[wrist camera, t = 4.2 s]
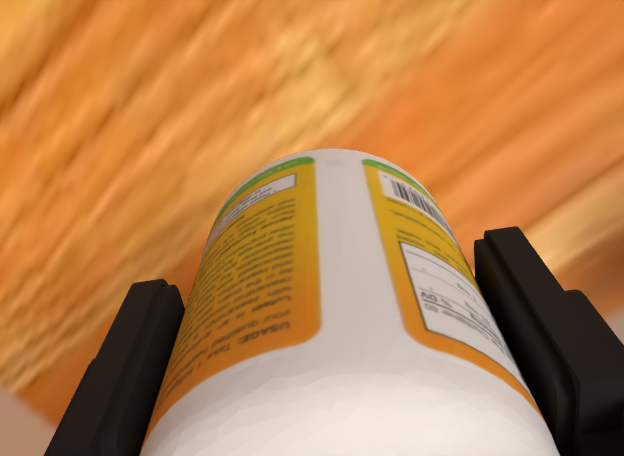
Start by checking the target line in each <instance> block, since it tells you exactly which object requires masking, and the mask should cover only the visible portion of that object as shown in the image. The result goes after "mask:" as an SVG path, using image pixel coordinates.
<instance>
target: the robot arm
mask: <svg viewBox="0 0 624 456" xmlns="http://www.w3.org/2000/svg"><path fill="white" fill-rule="evenodd" d="M474 259H475V279H476V281H477V283H478V285H479V288H480V290H481V292H482V294H483V296H484V298H485V300H486V302H487V304H488V306H489V308H490V310H491V313H492V314H493V316H494V318H495V320H496V323H497V325H498V327H499V329H500V331H501V333H502V335H503V337H504V339H505V341H506V343H507V345H508V347H509V349H510V351H511V353H512V355H513V357H514V359H515V361H516V364H517V366H518V368H519V370H520V372H521V374H522V376H523V378H524V380H525V382H526V384H527V386H528V388H529V390H530V392H531V394H532V396H533V398H534V400H535V402H536V404H537V406H538V408H539V410H540V412H541V414H542V416H543V418H544V420H545V422H546V424H547V426H548V429H549V431H550V433H551V435H552V438H553V440H554V443H555V445H556V448H557V450H558V452H559V455H560V456H624V345H623V344H622V343H621V341H620V340H619V339H618V338H617V336H616V335H615V334H614V332H613V331H612V330H611V328H610V327H609V326H608V324H607V323H606V322H605V321H604V319H603V318H602V317H601V315H600V314H599V313H598V311H597V310H596V309H595V308H594V306H593V305H592V304H591V302H590V301H589V300H588V298H587V297H586V296H585V295H584V294H583V293H582V292H581V291H579V290H569V291H564V290H563V288H562V287H561V286H560V284H559V283H558V281H557V280H556V279H555V277H554V276H553V274H552V273H551V272H550V270H549V269H548V268H547V266H546V265H545V263H544V262H543V261H542V259H541V258H540V256H539V255H538V254H537V252H536V251H535V250H534V248H533V247H532V245H531V244H530V243H529V241H528V240H527V238H526V237H525V236H524V234H523V233H522V231H521V230H520V229H519V228H518V227H517V226H514V227H508V228H501V229H494V230H487V231H485V233H484V239H480V240H475V242H474ZM184 313H185V308H184V305H183V302H182V299H181V296H180V293H179V290H178V288H177V286H176V285H169V286H168V283H167V282H166V281H165V280H164V279H158V280H151V281H145V282H138V283H133V284H132V286H131V287H130V289H129V291H128V293H127V295H126V297H125V299H124V301H123V304H122V306H121V308H120V310H119V312H118V314H117V316H116V318H115V320H114V322H113V324H112V326H111V328H110V330H109V332H108V334H107V336H106V338H105V340H104V342H103V344H102V346H101V348H100V350H99V352H98V354H97V356H96V358H95V359H93V360H92V362H91V363H90V364H89V366H88V368H87V370H86V372H85V374H84V376H83V378H82V380H81V382H80V384H79V386H78V388H77V390H76V392H75V394H74V396H73V398H72V400H71V402H70V404H69V406H68V408H67V410H66V412H65V414H64V416H63V418H62V420H61V422H60V424H59V426H58V428H57V430H56V432H55V434H54V436H53V438H52V440H51V442H50V444H49V446H48V448H47V450H46V452H45V454H44V456H139V455H140V452H141V448H142V445H143V442H144V439H145V435H146V432H147V429H148V426H149V422H150V419H151V416H152V413H153V410H154V407H155V404H156V400H157V397H158V394H159V391H160V388H161V384H162V381H163V378H164V375H165V372H166V369H167V366H168V363H169V360H170V357H171V354H172V351H173V348H174V344H175V341H176V338H177V335H178V332H179V329H180V326H181V323H182V320H183V316H184Z"/></svg>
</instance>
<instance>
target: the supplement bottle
mask: <svg viewBox="0 0 624 456" xmlns="http://www.w3.org/2000/svg"><path fill="white" fill-rule="evenodd" d="M139 456H560V455H559V452H558V450H557V448H556V445H555V443H554V440H553V438H552V435H551V433H550V431H549V429H548V426H547V424H546V422H545V420H544V418H543V416H542V414H541V412H540V410H539V408H538V406H537V404H536V402H535V400H534V398H533V396H532V394H531V392H530V390H529V388H528V386H527V384H526V382H525V380H524V378H523V376H522V374H521V372H520V370H519V368H518V366H517V364H516V361H515V359H514V357H513V355H512V353H511V351H510V349H509V347H508V345H507V343H506V341H505V339H504V337H503V335H502V333H501V331H500V329H499V327H498V325H497V323H496V320H495V318H494V316H493V314H492V313H491V310H490V308H489V306H488V304H487V302H486V300H485V298H484V296H483V294H482V292H481V290H480V288H479V285H478V283H477V281H476V279H475V277H474V276H473V274H472V272H471V270H470V267H469V265H468V263H467V261H466V259H465V257H464V255H463V253H462V251H461V248H460V246H459V244H458V242H457V241H456V239H455V237H454V235H453V233H452V231H451V229H450V227H449V225H448V223H447V221H446V219H445V217H444V215H443V214H442V212H441V210H440V209H439V207H438V205H437V204H436V202H435V201H434V199H433V198H432V196H431V195H430V194H429V192H428V191H427V190H426V189H425V188H424V187H423V186H422V185H421V184H420V183H419V182H418V181H417V180H416V179H415V178H414V177H413V176H411V175H410V174H409V173H407V172H406V171H404V170H403V169H402V168H400V167H398V166H397V165H395V164H393V163H391V162H389V161H387V160H385V159H383V158H380V157H377V156H374V155H371V154H368V153H364V152H360V151H356V150H348V149H334V148H329V149H317V150H310V151H304V152H300V153H295V154H292V155H289V156H286V157H284V158H281V159H279V160H277V161H274V162H272V163H270V164H268V165H266V166H264V167H263V168H261V169H259V170H258V171H256V172H255V173H253V174H252V175H251V176H249V177H248V178H247V179H246V180H245V181H243V182H242V183H241V184H240V185H239V186H238V187H237V188H236V189H235V190H234V191H233V193H232V194H231V195H230V196H229V198H228V199H227V200H226V201H225V203H224V205H223V206H222V208H221V210H220V211H219V213H218V215H217V217H216V219H215V222H214V224H213V227H212V229H211V232H210V234H209V237H208V240H207V243H206V247H205V249H204V253H203V255H202V259H201V263H200V266H199V269H198V272H197V275H196V279H195V282H194V285H193V288H192V291H191V294H190V297H189V300H188V304H187V307H186V310H185V313H184V316H183V320H182V323H181V326H180V329H179V332H178V335H177V338H176V341H175V344H174V348H173V351H172V354H171V357H170V360H169V363H168V366H167V369H166V372H165V375H164V378H163V381H162V384H161V388H160V391H159V394H158V397H157V400H156V404H155V407H154V410H153V413H152V416H151V419H150V422H149V426H148V429H147V432H146V435H145V439H144V442H143V445H142V448H141V452H140V455H139Z"/></svg>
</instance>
